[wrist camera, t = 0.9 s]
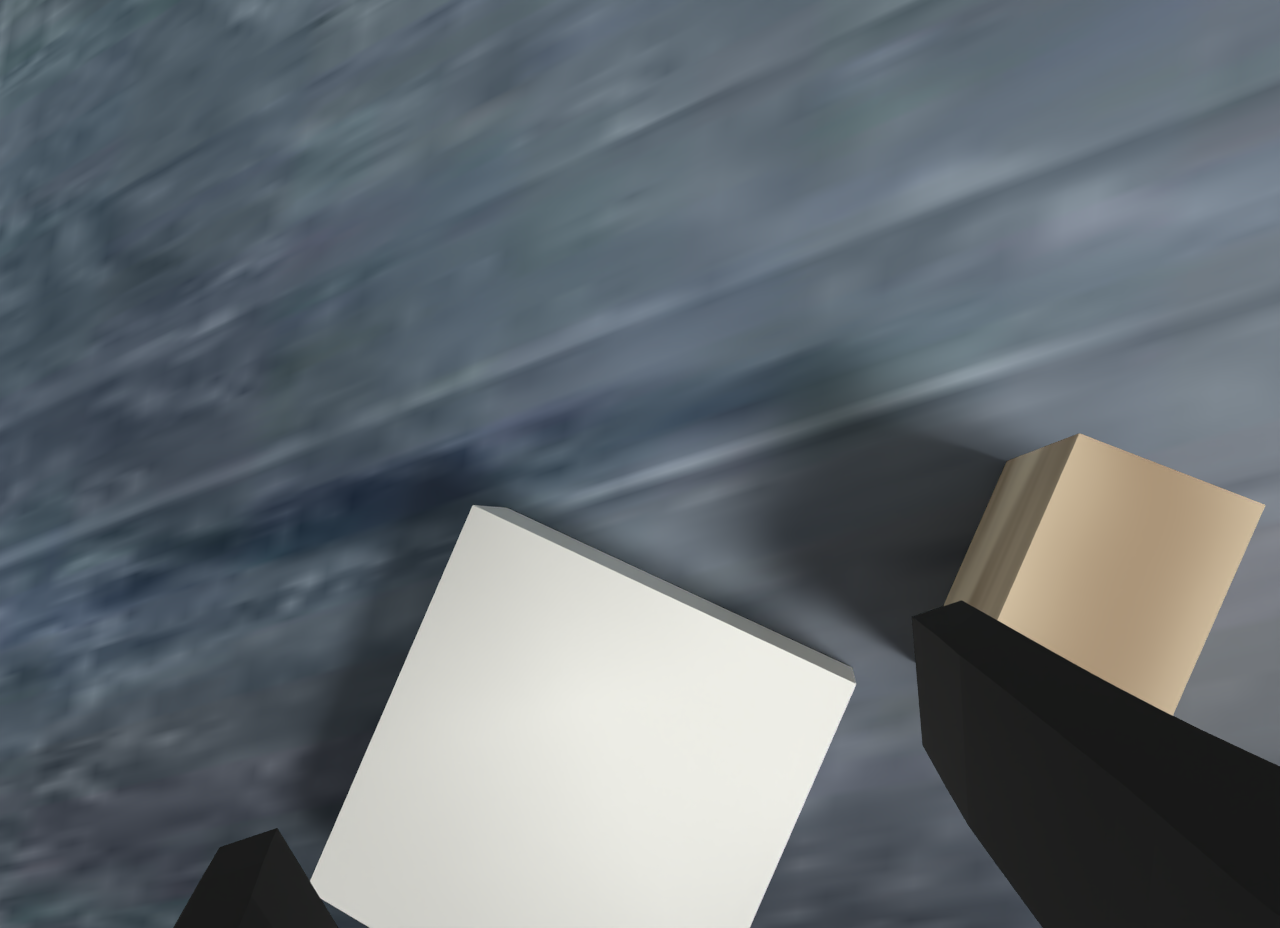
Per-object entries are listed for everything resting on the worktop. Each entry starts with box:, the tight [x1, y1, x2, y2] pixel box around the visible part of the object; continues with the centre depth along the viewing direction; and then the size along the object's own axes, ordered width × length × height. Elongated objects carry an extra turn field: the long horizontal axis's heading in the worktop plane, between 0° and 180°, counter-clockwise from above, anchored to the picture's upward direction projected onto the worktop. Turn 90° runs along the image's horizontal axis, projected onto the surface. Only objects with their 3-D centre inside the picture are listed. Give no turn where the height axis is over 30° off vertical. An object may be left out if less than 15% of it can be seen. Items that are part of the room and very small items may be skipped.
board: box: [310, 505, 856, 928], centre depth 23 cm, size 10×10×2 cm
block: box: [944, 433, 1265, 716], centre depth 19 cm, size 3×6×6 cm, turn 156°
